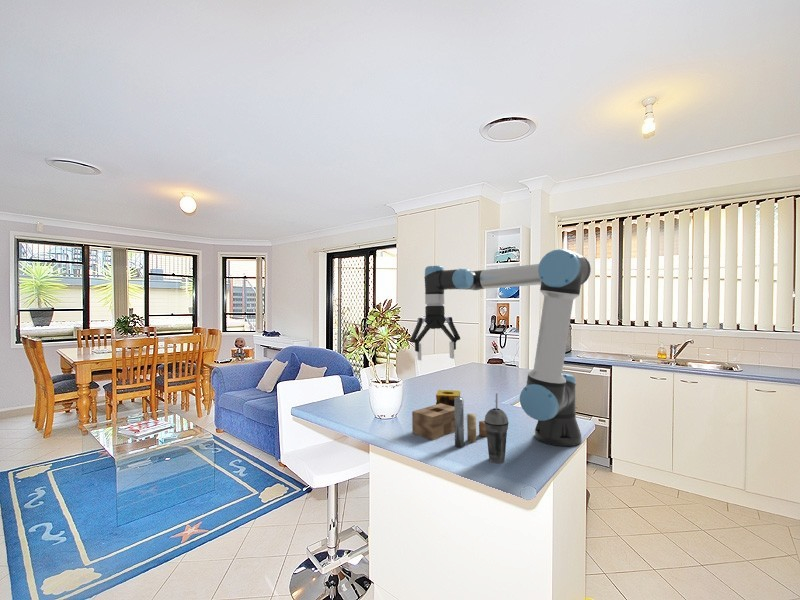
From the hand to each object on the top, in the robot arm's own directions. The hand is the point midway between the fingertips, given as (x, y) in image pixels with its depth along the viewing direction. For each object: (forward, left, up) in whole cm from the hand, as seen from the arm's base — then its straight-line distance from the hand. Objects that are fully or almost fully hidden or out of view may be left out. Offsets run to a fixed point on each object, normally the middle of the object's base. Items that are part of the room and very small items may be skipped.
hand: (435, 359), depth 153 cm
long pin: (-20, +12, -26) cm, 35 cm away
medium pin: (-20, +5, -26) cm, 33 cm away
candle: (+4, -12, -26) cm, 29 cm away
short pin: (-20, -2, -26) cm, 33 cm away
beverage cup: (-35, +13, -26) cm, 46 cm away
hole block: (-5, +6, -26) cm, 27 cm away
